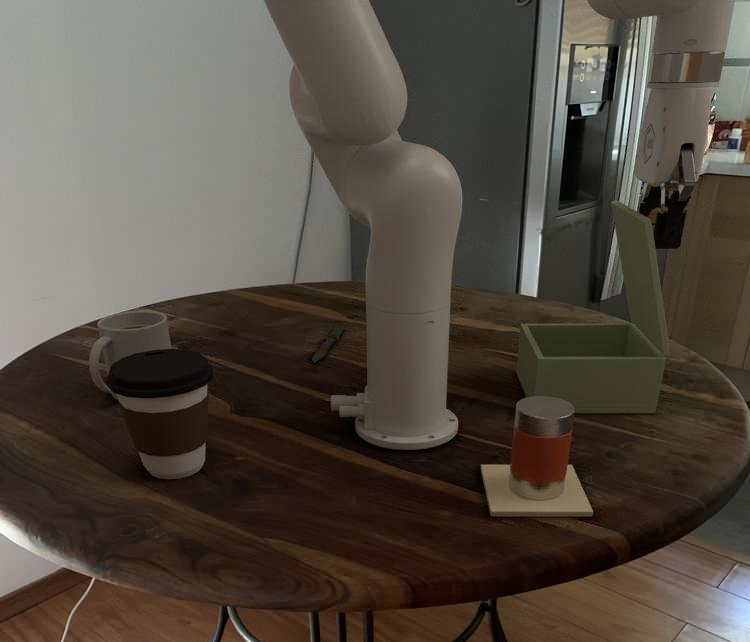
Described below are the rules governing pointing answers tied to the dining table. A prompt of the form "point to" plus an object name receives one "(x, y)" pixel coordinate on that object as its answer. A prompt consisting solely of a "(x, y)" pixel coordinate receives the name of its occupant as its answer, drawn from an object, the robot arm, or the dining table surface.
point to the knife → (329, 341)
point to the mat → (514, 505)
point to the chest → (591, 366)
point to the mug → (127, 339)
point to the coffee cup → (165, 408)
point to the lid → (641, 272)
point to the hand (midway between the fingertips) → (656, 240)
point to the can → (540, 447)
